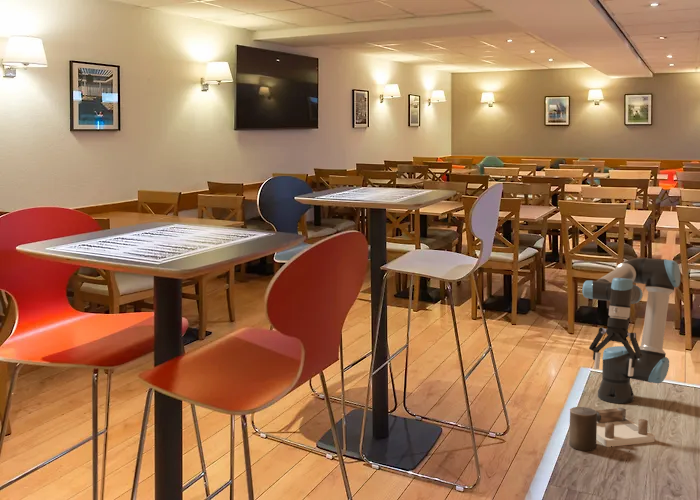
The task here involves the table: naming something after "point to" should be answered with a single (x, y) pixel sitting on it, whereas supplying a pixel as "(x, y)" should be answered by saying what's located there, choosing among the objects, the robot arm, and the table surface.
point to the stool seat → (623, 433)
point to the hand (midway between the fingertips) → (613, 372)
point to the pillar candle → (583, 428)
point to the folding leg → (611, 415)
